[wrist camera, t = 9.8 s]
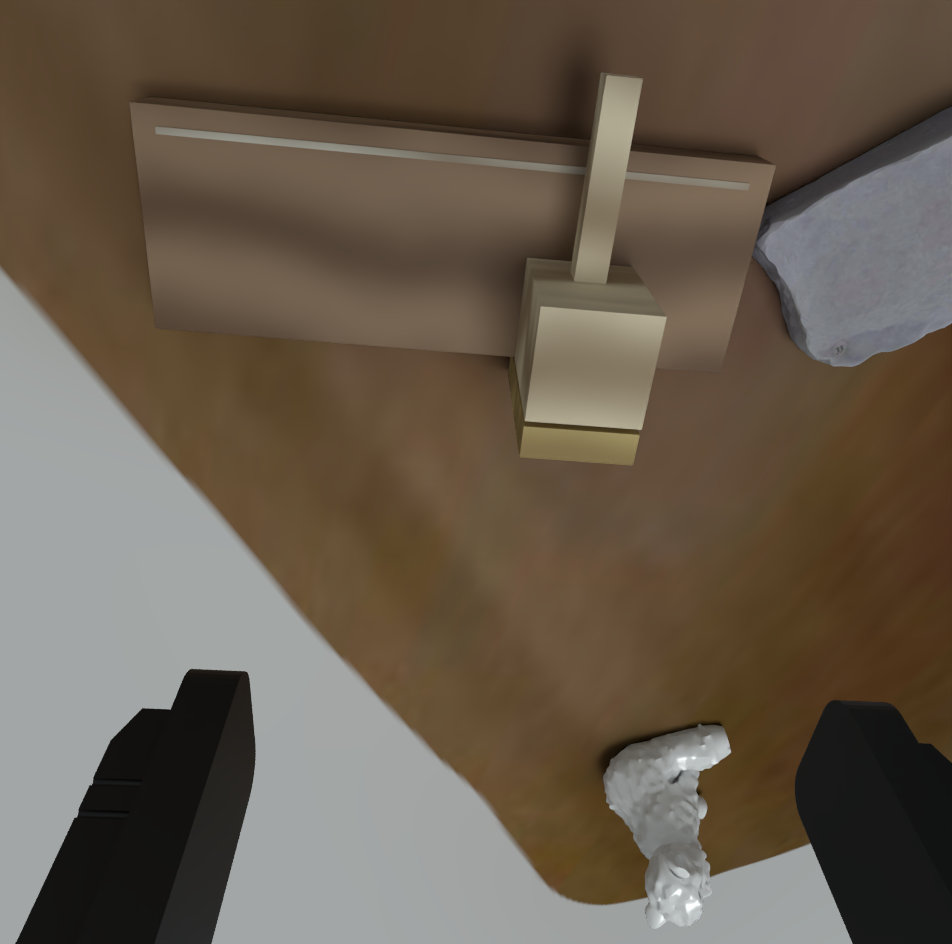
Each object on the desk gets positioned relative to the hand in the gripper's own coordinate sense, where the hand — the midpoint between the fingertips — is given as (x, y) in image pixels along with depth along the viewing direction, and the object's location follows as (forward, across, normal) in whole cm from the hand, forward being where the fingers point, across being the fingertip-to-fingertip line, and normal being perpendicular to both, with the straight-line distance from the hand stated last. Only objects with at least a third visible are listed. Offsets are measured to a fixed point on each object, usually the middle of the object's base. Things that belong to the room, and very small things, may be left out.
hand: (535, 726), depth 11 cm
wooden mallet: (+31, -5, +1) cm, 31 cm away
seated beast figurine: (+31, -16, +39) cm, 52 cm away
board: (+31, +1, +1) cm, 31 cm away
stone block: (+32, -20, 0) cm, 38 cm away
